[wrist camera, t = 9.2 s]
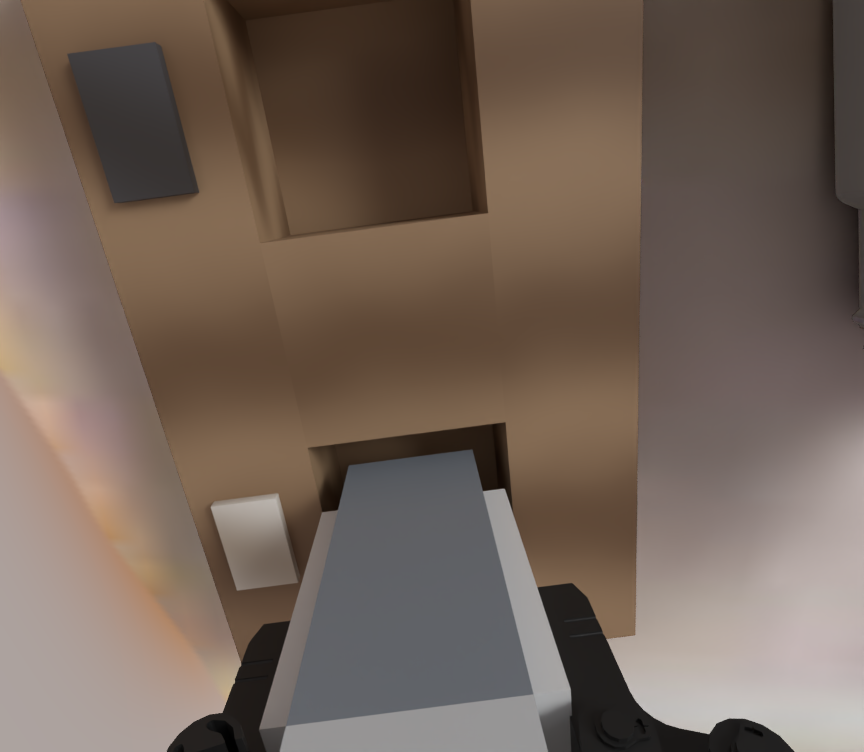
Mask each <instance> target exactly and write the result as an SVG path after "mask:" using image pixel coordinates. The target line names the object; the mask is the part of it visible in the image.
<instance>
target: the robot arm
mask: <svg viewBox="0 0 864 752" xmlns="http://www.w3.org/2000/svg"><path fill="white" fill-rule="evenodd" d="M483 494H484V498H485V502H486V506H487V510H488V514H489V518H490V522H491V526H492V530H493V534H494V538H495V542H496V546H497V550H498V554H499V558H500V562H501V566H502V570H503V574H504V578H505V582H506V586H507V590H508V594H509V598H510V602H511V606H512V610H513V614H514V618H515V622H516V626H517V630H518V634H519V638H520V642H521V646H522V650H523V654H524V658H525V662H526V666H527V670H528V674H529V678H530V682H531V686H532V690H533V694H534V698H535V702H536V706H537V710H538V714H539V718H540V722H541V726H542V730H543V734H544V738H545V742H546V746H547V750H548V752H794V751H793V750H792V749H791V747H790V746H789V745H788V744H787V743H786V742H785V741H784V740H783V739H782V738H781V737H780V736H779V735H777V734H776V733H774V732H773V731H771V730H769V729H768V728H766V727H765V726H763V725H761V724H758V723H755V722H752V721H749V720H746V719H727V720H724V721H722V722H720V723H717V724H716V726H715V727H714V728H713V730H712V731H711V733H710V734H705V733H700V732H694V731H689V730H684V729H679V728H676V727H673V726H669V725H666V724H664V723H662V722H660V721H658V720H656V719H654V718H653V717H652V716H650V715H649V714H648V713H647V712H645V711H644V710H643V709H642V708H641V707H640V706H639V705H638V703H637V702H636V701H635V700H634V698H633V696H632V694H631V693H630V691H629V689H628V687H627V684H626V682H625V680H624V678H623V675H622V673H621V671H620V669H619V666H618V664H617V662H616V660H615V658H614V655H613V653H612V651H611V649H610V646H609V644H608V642H607V640H606V637H605V635H603V631H602V629H601V626H600V624H599V622H598V620H597V619H596V615H595V613H594V611H593V608H592V606H591V604H590V602H589V600H588V597H587V596H585V595H584V594H583V593H582V592H581V591H580V590H579V589H578V588H577V587H576V586H575V585H574V584H573V583H567V584H559V585H551V586H543V587H537V585H536V582H535V579H534V576H533V573H532V570H531V567H530V564H529V561H528V558H527V555H526V552H525V549H524V546H523V543H522V540H521V537H520V533H519V530H518V527H517V524H516V521H515V518H514V515H513V512H512V509H511V506H510V503H509V500H508V497H507V494H506V491H505V489H497V490H490V491H483ZM337 512H338V510H336V511H328V512H322V515H321V518H320V522H319V525H318V528H317V532H316V535H315V539H314V542H313V546H312V549H311V552H310V556H309V559H308V563H307V566H306V570H305V573H304V577H303V580H302V583H301V587H300V590H299V594H298V597H297V601H296V604H295V607H294V611H293V614H292V618H291V621H284V622H276V623H268V624H263V626H262V627H261V628H260V629H259V631H258V632H257V633H256V634H255V636H254V637H253V638H252V639H251V641H250V642H249V644H248V646H247V649H246V652H245V654H244V657H243V660H242V662H241V667H240V668H239V670H238V673H237V676H236V678H235V684H233V687H232V689H231V692H230V695H229V697H228V700H227V703H226V705H225V708H224V711H223V713H219V714H212V715H208V716H206V717H204V718H201V719H199V720H197V721H195V722H193V723H192V724H191V725H190V726H188V727H187V728H186V729H185V730H183V731H182V732H181V733H180V734H179V735H178V736H177V737H176V739H175V740H174V741H173V743H172V744H171V745H170V746H169V748H168V750H167V752H280V748H281V744H282V740H283V736H284V732H285V728H286V723H287V719H288V715H289V711H290V707H291V703H292V699H293V694H294V690H295V686H296V682H297V678H298V674H299V670H300V665H301V661H302V657H303V653H304V649H305V645H306V641H307V636H308V632H309V628H310V624H311V620H312V616H313V612H314V607H315V603H316V599H317V595H318V591H319V587H320V583H321V578H322V574H323V570H324V566H325V562H326V558H327V554H328V549H329V545H330V541H331V537H332V533H333V529H334V525H335V520H336V516H337Z"/></svg>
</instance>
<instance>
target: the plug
mask: <svg viewBox="0 0 864 752" xmlns="http://www.w3.org/2000/svg"><path fill="white" fill-rule="evenodd" d="M280 752H548V750H547V746H546V742H545V738H544V734H543V730H542V726H541V722H540V718H539V714H538V710H537V706H536V702H535V698H534V694H533V690H532V686H531V682H530V678H529V674H528V670H527V666H526V662H525V658H524V654H523V650H522V646H521V642H520V638H519V634H518V630H517V626H516V622H515V618H514V614H513V610H512V606H511V602H510V598H509V594H508V590H507V586H506V582H505V578H504V574H503V570H502V566H501V562H500V558H499V554H498V550H497V546H496V542H495V538H494V534H493V530H492V526H491V522H490V518H489V514H488V510H487V506H486V502H485V498H484V494H483V490H482V486H481V482H480V478H479V474H478V470H477V466H476V462H475V458H474V454H473V450H472V449H471V450H463V451H456V452H448V453H440V454H433V455H425V456H417V457H410V458H402V459H394V460H387V461H379V462H371V463H364V464H356V465H349V467H348V471H347V475H346V479H345V483H344V487H343V491H342V496H341V500H340V504H339V508H338V512H337V516H336V520H335V525H334V529H333V533H332V537H331V541H330V545H329V549H328V554H327V558H326V562H325V566H324V570H323V574H322V578H321V583H320V587H319V591H318V595H317V599H316V603H315V607H314V612H313V616H312V620H311V624H310V628H309V632H308V636H307V641H306V645H305V649H304V653H303V657H302V661H301V665H300V670H299V674H298V678H297V682H296V686H295V690H294V694H293V699H292V703H291V707H290V711H289V715H288V719H287V723H286V728H285V732H284V736H283V740H282V744H281V748H280Z"/></svg>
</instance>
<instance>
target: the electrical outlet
mask: <svg viewBox="0 0 864 752" xmlns="http://www.w3.org/2000/svg"><path fill="white" fill-rule="evenodd" d="M833 44H834V114H835V184H836V196H837V198H838V199H839V200H840V201H842V202H843V203H845V204H847V205H850V206H852V207H855V208H857V209H859V310H858V311H857V312H856V313H855V314H853V315H852V320H853V322H854V323H856V324H858V325H860V328H863V329H864V0H833ZM863 349H864V346H863Z"/></svg>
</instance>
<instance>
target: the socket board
mask: <svg viewBox="0 0 864 752" xmlns="http://www.w3.org/2000/svg"><path fill="white" fill-rule="evenodd" d="M21 3H22V6H23V9H24V12H25V15H26V18H27V21H28V24H29V27H30V30H31V33H32V36H33V39H34V42H35V45H36V48H37V51H38V54H39V57H40V60H41V63H42V66H43V69H44V72H45V75H46V78H47V81H48V84H49V87H50V90H51V93H52V96H53V99H54V102H55V105H56V108H57V111H58V114H59V117H60V120H61V123H62V126H63V129H64V132H65V135H66V138H67V141H68V144H69V147H70V150H71V153H72V156H73V159H74V162H75V165H76V168H77V171H78V174H79V177H80V180H81V183H82V186H83V189H84V192H85V195H86V198H87V201H88V204H89V207H90V210H91V213H92V216H93V219H94V222H95V225H96V228H97V231H98V234H99V237H100V240H101V243H102V246H103V249H104V252H105V255H106V258H107V261H108V264H109V267H110V270H111V273H112V276H113V279H114V282H115V285H116V288H117V291H118V294H119V297H120V300H121V303H122V306H123V309H124V312H125V315H126V318H127V321H128V324H129V327H130V330H131V333H132V336H133V339H134V342H135V345H136V348H137V351H138V354H139V357H140V360H141V363H142V366H143V369H144V372H145V375H146V378H147V381H148V384H149V387H150V390H151V393H152V396H153V399H154V402H155V405H156V408H157V411H158V414H159V417H160V420H161V423H162V426H163V429H164V432H165V435H166V438H167V441H168V444H169V447H170V450H171V453H172V456H173V459H174V462H175V465H176V468H177V471H178V474H179V477H180V480H181V483H182V486H183V489H184V492H185V495H186V498H187V501H188V504H189V507H190V510H191V513H192V516H193V519H194V522H195V525H196V528H197V531H198V534H199V537H200V540H201V543H202V546H203V549H204V552H205V555H206V558H207V561H208V564H209V567H210V570H211V573H212V576H213V579H214V582H215V585H216V588H217V591H218V594H219V597H220V600H221V603H222V606H223V609H224V612H225V615H226V618H227V621H228V624H229V627H230V630H231V633H232V636H233V639H234V642H235V645H236V648H237V651H238V654H239V657H240V660H241V662H242V660H243V657H244V654H245V652H246V649H247V646H248V644H249V642H250V641H251V639H252V638H253V637H254V636H255V634H256V633H257V632H258V631H259V629H260V628H261V627H262V626H263V624H268V623H276V622H284V621H291V618H292V614H293V611H294V607H295V604H296V601H297V597H298V594H299V590H300V587H301V583H302V580H303V577H304V573H305V570H306V566H307V563H308V559H309V556H310V552H311V549H312V546H313V542H314V539H315V535H316V532H317V528H318V525H319V522H320V518H321V515H322V512H328V511H336V510H338V508H339V504H340V500H341V496H342V491H343V487H344V483H345V479H346V475H347V471H348V467H349V465H356V464H364V463H371V462H379V461H387V460H394V459H402V458H410V457H417V456H425V455H433V454H440V453H448V452H456V451H463V450H471V449H472V450H473V454H474V458H475V462H476V466H477V470H478V474H479V478H480V482H481V486H482V490H483V491H490V490H497V489H505V491H506V494H507V497H508V500H509V503H510V506H511V509H512V512H513V515H514V518H515V521H516V524H517V527H518V530H519V533H520V537H521V540H522V543H523V546H524V549H525V552H526V555H527V558H528V561H529V564H530V567H531V570H532V573H533V576H534V579H535V582H536V585H537V587H543V586H551V585H559V584H567V583H573V584H574V585H575V586H576V587H577V588H578V589H579V590H580V591H581V592H582V593H583V594H584V595H585V596H587V597H588V600H589V602H590V604H591V606H592V608H593V611H594V613H595V615H596V619H597V620H598V622H599V624H600V626H601V629H602V631H603V635H605V637H606V639H609V638H617V637H625V636H633V635H635V617H636V540H637V463H638V386H639V309H640V232H641V154H642V77H643V0H21Z"/></svg>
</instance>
